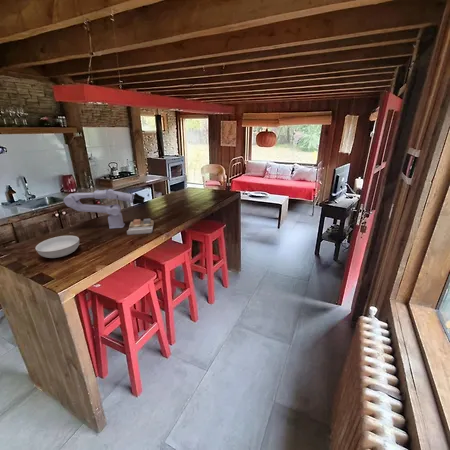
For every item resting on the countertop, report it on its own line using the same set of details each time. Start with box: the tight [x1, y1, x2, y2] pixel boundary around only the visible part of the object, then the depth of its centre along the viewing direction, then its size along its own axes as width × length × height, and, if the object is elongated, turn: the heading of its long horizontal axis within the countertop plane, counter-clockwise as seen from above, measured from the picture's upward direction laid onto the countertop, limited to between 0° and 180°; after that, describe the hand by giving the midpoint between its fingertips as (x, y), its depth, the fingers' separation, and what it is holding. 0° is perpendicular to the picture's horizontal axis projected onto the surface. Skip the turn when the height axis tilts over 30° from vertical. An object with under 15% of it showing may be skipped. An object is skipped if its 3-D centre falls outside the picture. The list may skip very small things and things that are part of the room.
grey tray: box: [126, 225, 154, 236], centre depth 174 cm, size 16×9×3 cm, turn 101°
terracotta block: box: [132, 218, 142, 225], centre depth 182 cm, size 4×4×2 cm
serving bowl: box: [34, 235, 80, 259], centre depth 143 cm, size 21×21×7 cm
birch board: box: [128, 219, 155, 229], centre depth 183 cm, size 16×10×2 cm, turn 101°
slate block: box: [143, 218, 152, 224], centre depth 183 cm, size 4×4×2 cm
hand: (144, 200), depth 183 cm, fingers open, 7 cm apart
